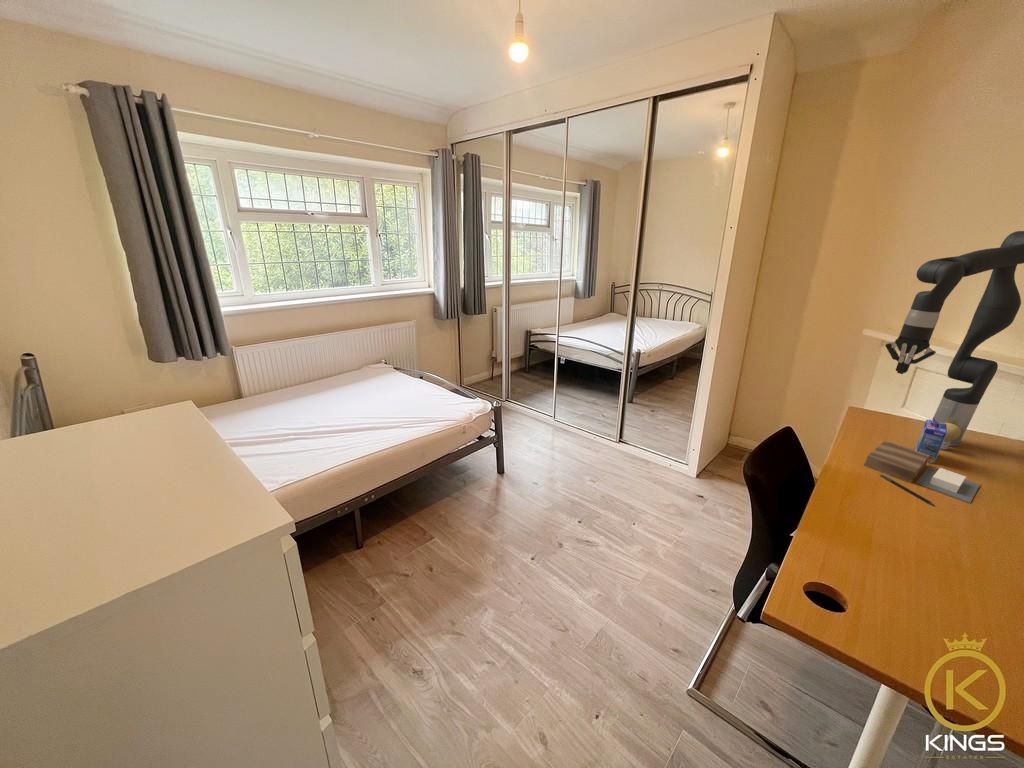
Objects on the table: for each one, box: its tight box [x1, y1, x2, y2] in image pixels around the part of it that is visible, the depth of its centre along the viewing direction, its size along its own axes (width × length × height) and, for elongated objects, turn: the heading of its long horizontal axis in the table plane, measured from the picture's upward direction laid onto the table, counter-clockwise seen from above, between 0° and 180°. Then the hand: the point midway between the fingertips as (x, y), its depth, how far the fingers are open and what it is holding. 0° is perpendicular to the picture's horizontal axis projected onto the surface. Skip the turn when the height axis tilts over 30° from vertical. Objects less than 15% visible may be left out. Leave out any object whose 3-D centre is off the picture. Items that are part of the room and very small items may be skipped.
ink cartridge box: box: [914, 416, 947, 464], centre depth 141 cm, size 10×6×14 cm, turn 136°
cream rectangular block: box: [930, 467, 967, 493], centre depth 127 cm, size 9×6×2 cm, turn 125°
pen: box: [879, 473, 936, 507], centre depth 124 cm, size 1×16×1 cm, turn 10°
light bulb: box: [940, 423, 961, 450], centre depth 147 cm, size 6×6×10 cm
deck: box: [863, 440, 930, 483], centre depth 137 cm, size 18×12×4 cm, turn 125°
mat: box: [915, 466, 981, 504], centre depth 127 cm, size 16×12×1 cm
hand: (900, 373), depth 139 cm, fingers closed
